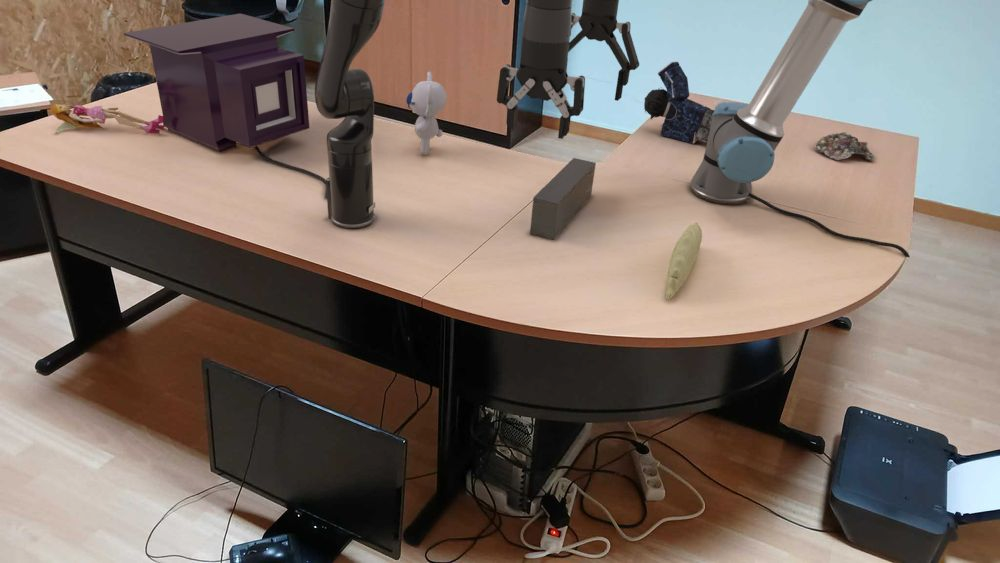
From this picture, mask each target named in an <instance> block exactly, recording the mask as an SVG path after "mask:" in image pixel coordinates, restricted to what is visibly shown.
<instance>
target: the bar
mask: <svg viewBox="0 0 1000 563" xmlns="http://www.w3.org/2000/svg"><path fill="white" fill-rule="evenodd" d="M596 165H597V164H596V162H594V161H590V160H585V159H581V158H576V157H572V159H571V160H570V161H569V162H568V163H567V164H566V165H565V166H563V167H562V169H560V171H559V172H558V173H557V174H556V175H555V176H554V177H552V179H550V181H548V182H547V183H546V184H545V185H544V186H543V187H542V188H541V189H540V191H538V193H537V194H535V195H534V196H533V199H532V209H531V217H530V218H531V219H530V228H529V229H530V230H529V234H530V235H534V236H537V237H541V238H543V239H544V238H545V239H548V240H552V241H554V240H555V239H556V238H558V235H560V234H561V232H562V231H563V230H564V229H565V228H566V226H567V225H568V224H569V223H570V222H571V221H572V219H573V218H574V217H575V216H576V214H578V212H579V211H580V210H581V209H582V208H583V206H584V205H585V204H586V203H587V202H588V201H589V200H590V198H591V197H592V193H593V186H594V178H595V172H596Z"/></svg>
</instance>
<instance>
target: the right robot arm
mask: <svg viewBox="0 0 1000 563" xmlns="http://www.w3.org/2000/svg"><path fill="white" fill-rule="evenodd" d="M872 1H873V0H807V5H806V7H805V9H804V10H803V12H802V14H801V15H800V17H799V19H798V20H797V22H796V24H795V26H794V27H793V29H792V31H791V32H790V34H789V36H788V38H787V39H786V41H785V43H784V44H783V46H782V47H781V49H780V51H779V52H778V54H777V56H776V57H775V59H774V61H773V63H772V65H771V66H770V68H769V69H768V72H767V73H766V75H765V77H764V79H763V80H762V82H761V84H760V85H759V87H758V89H757V90H756V92H755V93H754V96H753V97H752V99H751V100H750V102H749V103H744V102H737V101H736V102H735V101H734V102H733V101H724V102H719V103H718V104H716V105H715V106H714V109H713V110H714V113H713V114H712V116H713V118H712V123H711V127H710V132H709V136H708V141H707V142H706V145H705V150H704V154H703V159H702V161H701V163H700V165H699V166H698V168H697V169H696V171H695V173H694V174H693V176H692V179H691V181H690V184H689V189H690V191H691V193H693V194H694V196H696V197H698V198H700V199H702V200H704V201H707V202H710V203H713V204H717V205H726V206H727V205H729V206H734V205H742V204H745V203H747V202H749V201H750V199H751V198H752V199H754V200H755V201H757V202H759V203H761V204H762V205H764V206H767V207H768V208H770V209H772V210H774V211H775V212H778V213H781V214H784V215H786V216H791V217H795V218H799V219H802V220H805V221H808V222H809V223H812V224H814V225H816V226H817V227H819V228H820V229H822V230H823V231H825V232H826V233H828V234H831V235H833V236H835V237H838V238H841V239H845V240H850V241H855V242H861V243H867V244H873V245H877V246H882V247H887V248H892V249H893V248H894V249H896V250H898V251H900V252H901V253H902V254H903V255H904V257H906V258H910V255H909V253H908V251H907V250H906V249H905V248H904V247H903V246H901V245H898V244H897V243H896V244H895V243H891V242H886V241H879V240H875V239H870V238H865V237H860V236H853V235H848V234H844V233H840V232H837V231H834V230H832V229H831V228H828V227H827V226H826V225H824V224H823V223H821V222H819V221H818V220H816V219H814V218H812V217H809V216H806V215H803V214H800V213H797V212H792V211H789V210H785V209H782V208H780V207H777V206H775V205H774V204H772V203H770V202H768V201H767V200H764V199H763V198H761V197H759V196H757V195H756V194H753V193H752V192H753V186H752V183H754V182H757V181H759V180H762V178H764V177H765V176H766V175H768V174H769V172H770V171H771V170H772V168H773V166H774V163H775V151H776V149H777V148H778V146H779V145H780V143H781V141H782V140H783V138H784V136H785V130H784V126H783V124H784V123H785V121H786V120H787V118H788V117H789V115H790V113H791V112H792V110H793V109H794V107H795V106H796V104H797V102H798V101H799V99H800V97H801V96H802V94H803V93H804V91H805V89H806V88H807V87H808V85H809V83H810V81H811V80H812V78H813V77H814V76H815V73H816V72H817V70H818V69H819V68H820V65H822V62H823V61H824V59H825V58H826V56H827V55H828V53H829V51H830V50H831V48H832V46H833V45H834V44H835V42H836V40H837V38H838V37H839V35H840V33H842V30H843V29H844V27H845V26H846V24H847V23H848V22H849V21H852V20H855V19H858V18H860V16H861V15H862V13H863V11H864V10H865V8H866V7H867V5H868V4H869V3H870V2H872ZM619 3H620V0H582V8H581V15H580V16H579V15H576V13H574V12H571V30H572V29H573V27H574V26H576V25H577V24H579V26H580V29H581V30H580V31H579V32H578V33H577V34H576V36H574V38H572V39H571V40H570V41H569V49H568V53H570V52H571V51H572V50H573V49H574V48H575V47H576V46H577V45H578V44H579V43H580V42H581V41H582V40H583V39H584V38H587V40H589V41H593V40H595V41H598V42H603V41H604V42H605V43H606V45H607V46H608V47H609V49H610V51H611V52H612V54H613V55H614V57H615V59H616V61H617V63H618V64H619V66H620V67H621V68H620V69H619V70H618V74H617V80H616V88H615V94H614V101H616V102H618V101H619V100H621V99H622V96H623V90H624V89H623V88H624V86H627V85H628V83H629V79H630V72H631V71H635V70H637V69H638V68H639V67H640V62H639V58H638V54H637V51H636V47H635V44H634V41H633V38H632V34H631V22H630V21H626V22H618V19H617V17H618V11H619ZM616 30H618V32H619V34H621V39H622V42H623V46H624V48H625V53H626V54H625V53H624V51H623V49H622V47H621V44H619V42H618V40H617V37H616V35H615V33H614V32H615V31H616ZM568 60H569V58H568V59H567V63H568ZM567 70H568V67H567V68H566V71H567ZM567 72H568V71H567ZM565 87H566V85H565V86H564V87H563V88H562V89H564V88H565Z"/></svg>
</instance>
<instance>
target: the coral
mask: <svg viewBox="0 0 1000 563" xmlns="http://www.w3.org/2000/svg"><path fill="white" fill-rule="evenodd" d="M815 150H816V151H817V152H818V153H824V155H825V156H827V157H828V158H830V159H832V160H835V161H839V160H840V161H841V160H844V159H848V158H851V157H852V155H853V154H854V155H857V154H859V155H860V156H861V158H863V159H865V160H866V161H871V162H874V160H875V159H874V158H875V155H874V154H873V153H872V152H871V151H870V149H869V147H868V142H867V141H859V139H858V137H855V136H853V135H852V134H851V133H849V132H848V131H846V132H844V131H843V132H836V133H830V134H827V135H826V136H822V137H820V138H819V140H818V141H817V142H816V144H815ZM873 157H874V158H873Z"/></svg>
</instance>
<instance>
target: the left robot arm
mask: <svg viewBox="0 0 1000 563" xmlns="http://www.w3.org/2000/svg"><path fill="white" fill-rule="evenodd" d="M525 1H526V2H525V10H524V14H523V20H522V31H521V32H522V34H521V35H522V36H521V46H520V59H519V60H520V61H519V67H518V68H516V67H512V66H511V64H507V63H506V64H505V65H504V66H502V67H501V68H500V70H499V77H498V84H497V85H498V86H497V94H496V102H497V103H498V104H502V105H504V106H505V107H506V121H505V123H506V127H509V128H508V129H509V131H515V130H516V129H517V126H518V114H519V106H518V103H520V101H521V100H522V99H523V98H524V97H525V96H526V95H527V97H529V99H533V100H534V99H535V100H536V99H539V100H542V101H545V102H546V101H550V100H551V102H552V103H553V104H554V106H555V107H556V108H557V109H558V111H559V113H560V114H561V116H560V118H559V124H558V134H557V139H560V140H563V139H564V138H565V137H566V136H567V135H568V134H569V132H570V128H571V127H570V126H571V119H572V117H574V116H575V117H579V116H580V115H581V113H582V112H583V110H584V105H585V104H584V103H585V88H586V77H585V76H584V75H583V74H582V75H579V76H569V75H568V71H566V68H567V69H568V62H567V59H568V60H569V58H568V57H569V52H568V49H569V43H570V41H571V35H572V29H571V14H572V6H573V0H525ZM385 2H386V0H331V1H330V11H329V19H328V26H327V32H326V37H325V44H324V47H323V51H322V55H321V60H320V63H319V67H318V69H317V74H316V78H315V84H314V100H315V105H316V108H317V110H318V112H319V114H320V115H321V116H322V117H323V118H326V119H328V120H339V119H342V121H341V122H340V123H339V124H338V125H336V126H335V127H333V128H332V129H330V130H329V131H328V132H327V134H326V150H327V152H326V153H327V163H328V164H327V166H328V177H327V178H324V177H323V176H321V175H319V174H317V173H314V172H312V171H309V170H307V169H305V168H301V167H298V166H294V165H290V164H288V163H285V162H282V161H279V160H277V159H273V158H271V157H269V156H267V155H265V154H264V153H263V152H262V151H261V150H260V149H259V147H258V145H256V146H254V149H255V151H256V152H257V153H258V154H259V156H260V157H261V158H262V159H264V160H266V161H268V162H270V163H273V164H276V165H279V166H281V167H285V168H286V169H287V168H288V169H291V170H294V171H298V172H301V173H305V174H306V175H309V176H312V177H314V178H316V179H318V180H320V181H321V182H323V184H325V193H324V196H325V198H326V203H327V218H328V219H329V220H331V222H332V223H333V224H334V225H335V226H337V227H340V228H345V229H361V228H364V227H367V226H370V225H372V223H373V222H374V221H375V210H374V209H375V208H376V202H375V201H374V175H373V174H374V173H373V151H372V150H373V149H372V148H373V146H372V140H373V137H374V131H375V128H374V126H375V125H374V124H375V122H374V120H375V91H374V86H373V82H372V80H371V76H370V75H369V74H368V73H367V71H366V70H365V69H363V68H360V67H354V68H350V66H351V64H352V62H353V61H354V59H355V58H356V57H357V55H358V54H360V52H361V51H362V50H363V49H364V47H365V46H366V45H367V44H368V43H369V41H370V40H371V39H372V37H373V36H374V35H375V34H376V31H377V30H378V28H379V26H380V24H381V20H382V17H383V11H384V6H385ZM514 77H516V78H517V80H518V82H519V84H520V86H521V88H520V89H519V90H517V92H516V93H515V94H514V95H513V96H511V95H509V91H510V82H512V81H513V80H514ZM567 84H568V85H569V88H570V90H571V91H572V92H573V105H572V106H571V104H570V102H569V101H568V97H567V95H566V93H565V92H564V90H563V89H564V88H565V87H566V85H567ZM564 86H565V87H564ZM563 87H564V88H563Z"/></svg>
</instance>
